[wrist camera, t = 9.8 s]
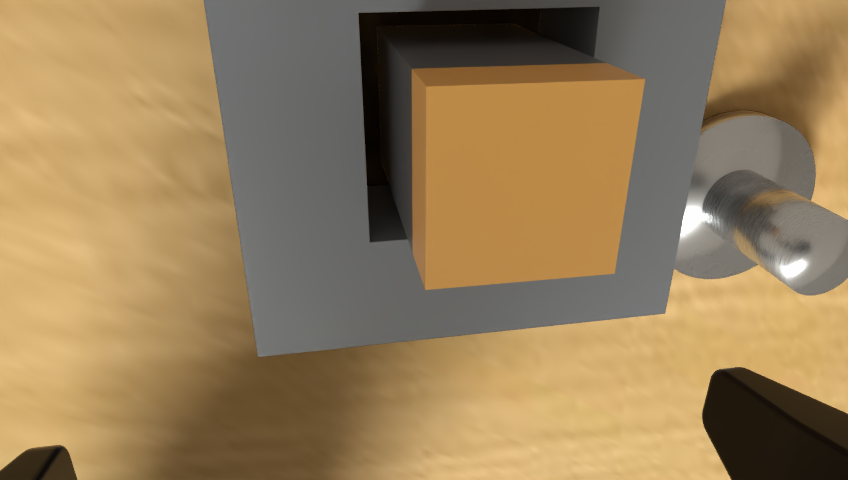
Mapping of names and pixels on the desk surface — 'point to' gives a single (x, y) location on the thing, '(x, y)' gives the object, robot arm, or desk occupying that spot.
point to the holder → (374, 205)
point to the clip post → (759, 207)
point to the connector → (504, 152)
